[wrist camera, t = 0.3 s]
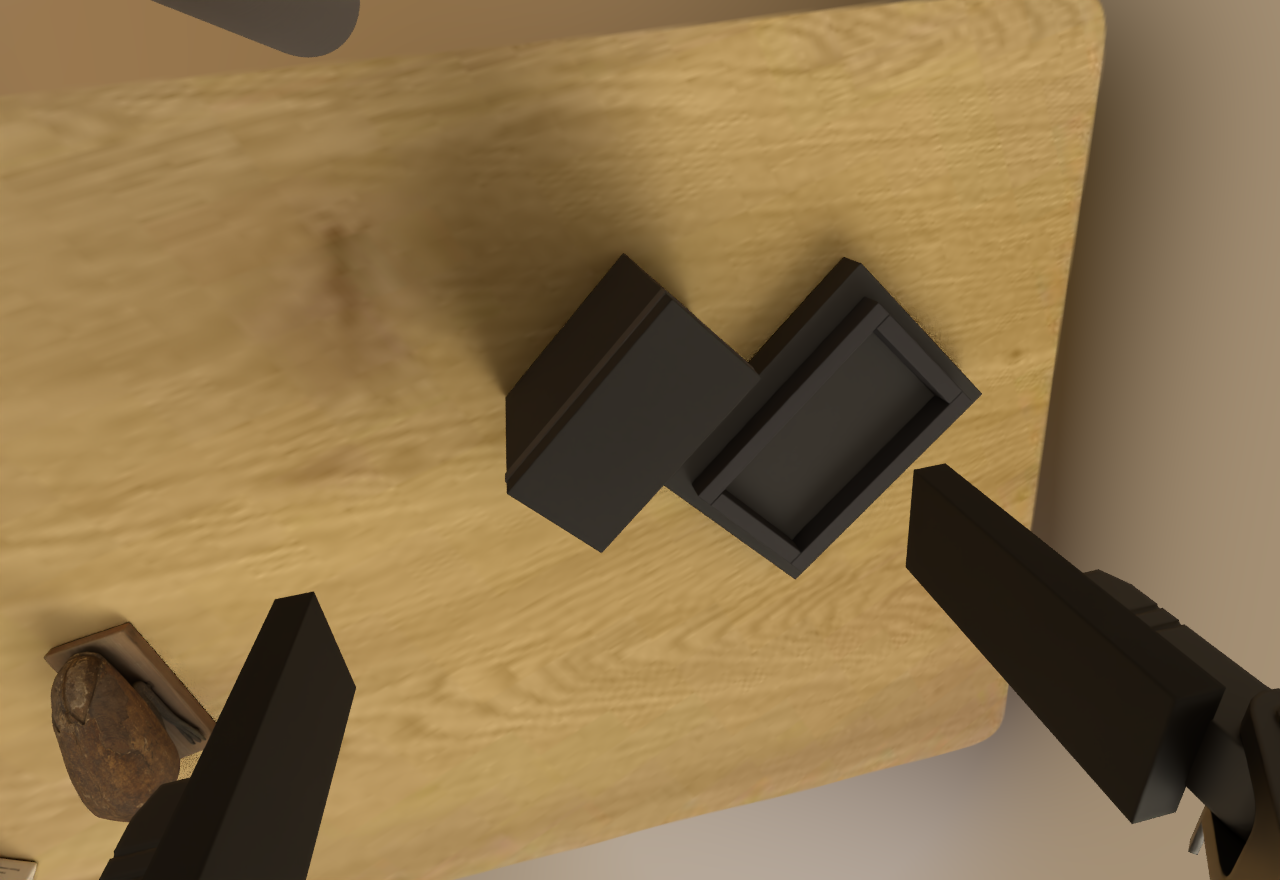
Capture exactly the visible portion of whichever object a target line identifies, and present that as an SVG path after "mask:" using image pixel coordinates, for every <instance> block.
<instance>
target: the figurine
mask: <svg viewBox="0 0 1280 880" xmlns="http://www.w3.org/2000/svg"><path fill="white" fill-rule="evenodd" d="M44 659H45V660H46V662H47V663H48V664H49V665H50V666H51V667H52V668H53V669H54V670H55V671H56V672H57V673H58V674H57V675H56V677H55V679H54V682H53V685H52V689H51V705H52V707H51V708H52V723H53V729H54V732H55V734H56V737H57V740H58V743H59V747H60V750H61V753H62V756H63V760H64V763H65V766H66V769H67V772H68V774H69V777H70V779H71V781H72V784H73V785H74V787H75V789H76V791H77V793H78V795H79V796H80V798H81V800H82V802H83V803H84V804H85V806H86V807H87V808H88V809H89V810H90V811H91V812H92V813H93V814H94V815H95V816H97V817H99V818H104V819H108V820H114V821H121V822H130V820H131V818H132V817H133V816H134V815H135V813H136V812H137V811H138V810H139V809H140V808H141V807H142V806H143V804H144V803H145V802H146V801H147V800H148V799H149V798H150V797H151V795H152V794H153V793H154V792H155V791H156V790H157V789H158V788H159V786H160V785H161V784H164V783H169V782H173V781H177V779H178V775H179V770H180V759H181V758H184V757H186V756H189V755H192V754H194V753H197V752H199V751H202V750H204V748H205V746H206V744H207V741H208V739H209V737H210V735H211V733H212V731H213V729H214V727H215V725H216V723H215V722H214V721H213V720H212V718H211V717H210V716H209V715H208V714H207V713H206V711H205V710H204V709H203V708H202V707H201V706H200V704H199V703H198V702H197V701H196V700H195V698H194V697H193V696H192V695H191V694H190V693H189V691H188V690H187V689H186V688H185V687H184V686H183V684H182V683H181V682H180V681H179V679H178V678H177V677H176V676H175V675H174V673H173V672H172V671H171V670H170V669H169V668H168V667H167V666H166V664H165V663H164V662H163V661H162V659H161V658H160V657H159V656H158V655H157V654H156V652H155V651H154V650H153V649H152V648H151V647H150V646H149V644H148V643H147V642H146V641H145V640H144V639H143V637H142V636H141V635H140V634H139V633H138V632H137V631H136V630H135V628H134V627H133V626H132V625H131V624H130V623H126V624H123V625H120V626H117V627H114V628H111V629H108V630H105V631H102V632H99V633H96V634H94V635H90V636H88V637H84V638H81V639H78V640H76V641H73V642H70V643H67V644H64V645H61V646H58V647H56V648H53V649H51V650H50V651H49V652H48V653H47V654H46V655H45V656H44Z"/></svg>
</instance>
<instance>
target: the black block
mask: <svg viewBox="0 0 1280 880" xmlns="http://www.w3.org/2000/svg"><path fill="white" fill-rule="evenodd" d="M760 379H761V376H760V375H759V374H758V373H757V372H756V371H755V370H754V368H753V367H752V366H751V365H750V364H749V363H748V362H747V361H745V360H744V359H743V358H742V357H741V356H740V355H739V354H737V353H736V352H735V351H734V350H733V349H732V348H731V347H729V346H728V345H727V344H726V343H725V342H724V341H723V340H722V339H720V338H719V337H718V336H717V335H716V334H715V333H714V332H712V331H711V330H710V329H709V328H708V327H707V326H706V325H705V324H703V323H702V322H701V321H700V320H699V319H698V318H697V317H696V316H695V315H694V314H692V313H691V312H690V311H689V310H688V309H687V308H686V307H685V306H683V305H682V304H681V303H680V302H679V301H678V300H677V299H676V298H674V297H673V296H672V295H671V294H670V293H669V292H668V291H666V290H665V289H664V288H663V287H662V286H661V285H660V284H658V283H657V282H656V281H655V280H654V279H653V278H652V277H651V276H649V275H648V274H647V273H646V272H645V271H644V270H643V269H641V268H640V267H639V266H638V265H637V264H636V263H635V262H634V261H632V260H631V259H630V258H629V257H628V256H627V255H626V254H624V253H623V254H622V255H621V257H620V258H619V259H618V260H617V261H616V263H615V264H614V265H613V266H612V268H611V269H610V270H609V271H608V272H607V274H606V275H605V276H604V277H603V279H602V280H601V281H600V282H599V283H598V285H597V286H596V287H595V288H594V290H593V291H592V292H591V293H590V294H589V296H588V297H587V298H586V299H585V301H584V302H583V303H582V304H581V305H580V307H579V308H578V309H577V310H576V312H575V313H574V314H573V315H572V316H571V318H570V319H569V320H568V321H567V323H566V324H565V325H564V326H563V327H562V329H561V330H560V331H559V332H558V334H557V335H556V336H555V337H554V338H553V340H552V341H551V342H550V343H549V345H548V346H547V347H546V348H545V349H544V351H543V352H542V353H541V354H540V356H539V357H538V358H537V359H536V360H535V362H534V363H533V364H532V365H531V367H530V368H529V369H528V370H527V371H526V373H525V374H524V375H523V376H522V378H521V379H520V380H519V381H518V382H517V384H516V385H515V386H514V387H513V389H512V390H511V391H510V392H509V394H508V395H507V396H506V468H507V472H506V473H505V482H506V483H507V494H508V495H510V496H511V497H513V498H515V499H516V500H518V501H519V502H521V503H523V504H524V505H526V506H527V507H529V508H531V509H532V510H534V511H535V512H537V513H539V514H540V515H542V516H543V517H545V518H547V519H548V520H550V521H551V522H553V523H554V524H556V525H558V526H559V527H561V528H562V529H564V530H566V531H567V532H569V533H570V534H572V535H574V536H575V537H577V538H578V539H580V540H582V541H583V542H585V543H586V544H588V545H590V546H591V547H593V548H594V549H596V550H598V551H599V552H601V553H602V552H603V551H604V550H605V549H606V548H607V547H608V546H609V545H610V543H611V542H612V541H613V540H614V539H615V538H616V537H617V536H618V535H619V534H620V533H621V531H622V530H623V529H624V528H625V527H626V526H627V525H628V524H629V523H630V522H631V520H632V519H633V518H634V517H635V516H636V515H637V514H638V513H639V512H640V511H641V510H642V508H643V507H644V506H645V505H646V504H647V503H648V502H649V501H650V500H651V499H652V497H653V496H654V495H655V494H656V493H657V492H658V491H659V490H660V489H661V488H662V487H663V485H664V484H665V483H666V482H667V481H668V480H669V479H670V478H671V477H672V476H673V474H674V473H675V472H676V471H677V470H678V469H679V468H680V467H681V466H682V465H683V464H684V462H685V461H686V460H687V459H688V458H689V457H690V456H691V455H692V454H693V453H694V451H695V450H696V449H697V448H698V447H699V446H700V445H701V444H702V443H703V442H704V441H705V439H706V438H707V437H708V436H709V435H710V434H711V433H712V432H713V431H714V430H715V428H716V427H717V426H718V425H719V424H720V423H721V422H722V421H723V420H724V419H725V418H726V416H727V415H728V414H729V413H730V412H731V411H732V410H733V409H734V408H735V407H736V405H737V404H738V403H739V402H740V401H741V400H742V399H743V398H744V397H745V396H746V395H747V393H748V392H749V391H750V390H751V389H752V388H753V387H754V386H755V385H756V384H757V382H758V381H759V380H760Z"/></svg>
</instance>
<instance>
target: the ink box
mask: <svg viewBox="0 0 1280 880" xmlns="http://www.w3.org/2000/svg"><path fill="white" fill-rule="evenodd" d="M36 867H37V863H34V862H26V861H17V860H10V859H2V858H0V880H33V877H34V874H35V870H36Z"/></svg>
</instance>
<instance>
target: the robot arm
mask: <svg viewBox="0 0 1280 880" xmlns="http://www.w3.org/2000/svg"><path fill="white" fill-rule="evenodd" d="M906 568H907V569H908V570H909V571H910V573H911V574H912V575H913V576H914V577H915V578H916V579H917V580H918V582H919V583H920V584H921V585H922V586H923V587H924V588H925V590H926V591H927V592H928V593H929V594H930V595H931V596H932V598H933V599H934V600H935V601H936V602H937V603H938V604H939V605H940V607H941V608H942V609H943V610H944V611H945V612H946V613H947V615H948V616H949V617H950V618H951V619H952V620H953V621H954V622H955V624H956V625H957V626H958V627H959V628H960V629H961V630H962V632H963V633H964V634H965V635H966V636H967V637H968V638H969V640H970V641H971V642H972V643H973V644H974V645H975V646H976V647H977V649H978V650H979V651H980V652H981V653H982V654H983V655H984V657H985V658H986V659H987V660H988V661H989V662H990V663H991V664H992V666H993V667H994V668H995V669H996V670H997V671H998V672H999V674H1000V675H1001V676H1002V677H1003V678H1004V679H1005V680H1006V682H1007V683H1008V684H1009V685H1010V686H1011V687H1012V688H1013V689H1014V691H1015V692H1016V693H1017V694H1018V695H1019V696H1020V697H1021V699H1022V700H1023V701H1024V702H1025V703H1026V704H1027V705H1028V707H1029V708H1030V709H1031V710H1032V711H1033V712H1034V713H1035V714H1036V715H1037V717H1038V718H1039V719H1040V720H1041V721H1042V722H1043V724H1044V725H1045V726H1046V727H1047V728H1048V729H1049V730H1050V731H1051V733H1052V734H1053V735H1054V736H1055V737H1056V738H1057V739H1058V741H1059V742H1060V743H1061V744H1062V745H1063V746H1064V747H1065V749H1066V750H1067V751H1068V752H1069V753H1070V754H1071V755H1072V756H1073V758H1074V759H1075V760H1076V761H1077V762H1078V763H1079V764H1080V766H1081V767H1082V768H1083V769H1084V770H1085V771H1086V772H1087V774H1088V775H1089V776H1090V777H1091V778H1092V779H1093V780H1094V781H1095V782H1096V784H1097V785H1098V786H1099V787H1100V788H1101V789H1102V791H1103V792H1104V793H1105V794H1106V795H1107V796H1108V797H1109V798H1110V800H1111V801H1112V802H1113V803H1114V804H1115V805H1116V806H1117V807H1118V809H1119V810H1120V811H1121V812H1122V813H1123V814H1124V815H1125V817H1126V818H1127V819H1128V820H1129V821H1130V822H1131V823H1132V824H1134V823H1138V822H1141V821H1145V820H1149V819H1152V818H1156V817H1160V816H1163V815H1167V814H1170V813H1174V812H1176V810H1177V808H1178V805H1179V803H1180V800H1181V798H1182V795H1183V793H1184V791H1185V788H1186V787H1187V788H1188V789H1190V791H1192V793H1194V795H1195V796H1196V797H1198V798H1199V799H1200V800H1201V801H1202V802H1203V803H1204V804H1205V807H1204V809H1203V812H1202V814H1201V816H1200V818H1199V821H1198V823H1197V825H1196V828H1195V830H1194V832H1193V835H1192V837H1191V839H1190V845H1189V851H1188V852H1190V853H1193V854H1196V855H1198V852H1199V850H1200V848H1201V846H1202V843H1203V841H1204V842H1205V849H1206V855H1207V861H1208V869H1209V875H1210V880H1280V689H1279V688H1278V689H1270V688H1269V687H1267V686H1266V685H1264V684H1263V683H1262V682H1260V681H1259V680H1257V679H1256V678H1255V677H1254V676H1252V675H1251V674H1249V673H1248V672H1247V671H1246V670H1244V669H1243V668H1242V667H1240V666H1239V665H1238V664H1236V663H1235V662H1234V661H1232V660H1231V659H1230V658H1228V657H1227V656H1226V655H1224V654H1223V653H1222V652H1220V651H1219V650H1218V649H1216V648H1215V647H1214V646H1212V645H1211V644H1210V643H1208V642H1207V641H1206V640H1205V639H1203V638H1202V637H1201V636H1199V635H1198V634H1197V633H1195V632H1194V631H1193V630H1191V629H1190V628H1189V627H1187V626H1185V625H1181V624H1180V623H1179V620H1178V619H1176V618H1175V617H1174V616H1173V615H1171V614H1170V613H1169V612H1167V611H1166V610H1164V609H1163V608H1159V607H1158V606H1157V603H1155V602H1154V601H1153V600H1151V599H1150V598H1149V597H1147V596H1146V595H1145V594H1143V593H1142V592H1140V591H1139V590H1138V589H1136V588H1135V587H1134V586H1133V585H1132V584H1129V583H1127V582H1125V581H1123V580H1120V579H1119V578H1116V577H1114V576H1112V575H1110V574H1108V573H1105V572H1103V571H1101V570H1099V569H1098V570H1094V571H1090V572H1085V573H1082V572H1081V571H1080V570H1078V569H1077V568H1076V567H1075V566H1073V565H1072V564H1071V563H1070V562H1068V561H1067V560H1066V559H1065V558H1063V557H1062V556H1061V555H1060V554H1058V553H1057V552H1056V551H1055V550H1053V549H1052V548H1051V547H1049V546H1048V545H1047V544H1046V543H1045V542H1043V541H1042V540H1041V539H1040V538H1038V537H1037V536H1036V535H1035V534H1033V533H1032V532H1031V531H1030V530H1028V529H1027V528H1026V527H1025V526H1023V525H1022V524H1021V523H1019V522H1018V521H1017V520H1016V519H1014V518H1013V517H1012V516H1011V515H1009V514H1008V513H1007V512H1006V511H1004V510H1003V509H1002V508H1001V507H999V506H998V505H997V504H996V503H994V502H993V501H992V500H991V499H989V498H988V497H987V496H986V495H984V494H983V493H982V492H981V491H979V490H978V489H977V488H976V487H974V486H973V485H972V484H971V483H969V482H968V481H967V480H966V479H964V478H963V477H962V476H961V475H959V474H958V473H957V472H956V471H954V470H953V469H952V468H950V467H949V466H948V465H947V464H940V465H935V466H930V467H925V468H920V469H916V470H914V474H913V486H912V498H911V510H910V521H909V533H908V545H907V557H906ZM355 690H356V686H355V684H354V682H353V679H352V677H351V675H350V673H349V670H348V668H347V666H346V663H345V661H344V659H343V657H342V654H341V652H340V650H339V647H338V645H337V643H336V641H335V638H334V636H333V634H332V632H331V629H330V627H329V625H328V622H327V620H326V618H325V616H324V613H323V611H322V609H321V607H320V604H319V602H318V600H317V597H316V595H315V593H314V592H309V593H304V594H299V595H294V596H289V597H284V598H279V599H275V600H274V603H273V605H272V607H271V609H270V611H269V613H268V615H267V617H266V619H265V622H264V624H263V626H262V628H261V630H260V632H259V634H258V636H257V638H256V640H255V643H254V645H253V647H252V649H251V651H250V653H249V655H248V657H247V659H246V662H245V664H244V666H243V668H242V670H241V672H240V674H239V676H238V678H237V680H236V683H235V685H234V687H233V689H232V691H231V693H230V695H229V697H228V699H227V701H226V704H225V706H224V708H223V710H222V712H221V714H220V716H219V718H218V720H217V723H216V725H215V727H214V729H213V731H212V733H211V735H210V737H209V739H208V741H207V744H206V746H205V748H204V750H203V752H202V754H201V756H200V758H199V760H198V763H197V765H196V767H195V769H194V771H193V773H192V775H191V777H190V778H186V779H182V780H178V781H173V782H169V783H164V784H161V785H160V786H159V788H158V789H157V790H156V791H155V792H154V793H153V794H152V795H151V797H150V798H149V799H148V800H147V801H146V802H145V803H144V804H143V806H142V807H141V808H140V809H139V810H138V811H137V812H136V813H135V815H134V816H133V817H132V818H131V820H130V822H129V824H128V826H127V828H126V830H125V832H124V833H123V835H122V837H121V839H120V841H119V843H118V845H117V847H116V849H115V850H114V858H112V859H110V860H109V862H108V864H107V865H106V867H105V869H104V871H103V873H102V875H101V877H100V879H99V880H306V877H307V873H308V870H309V866H310V862H311V858H312V854H313V850H314V847H315V843H316V839H317V835H318V831H319V827H320V824H321V820H322V816H323V812H324V808H325V805H326V801H327V797H328V793H329V789H330V785H331V782H332V778H333V774H334V770H335V766H336V762H337V759H338V755H339V751H340V747H341V743H342V739H343V736H344V732H345V728H346V724H347V720H348V716H349V713H350V709H351V705H352V701H353V697H354V693H355Z"/></svg>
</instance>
